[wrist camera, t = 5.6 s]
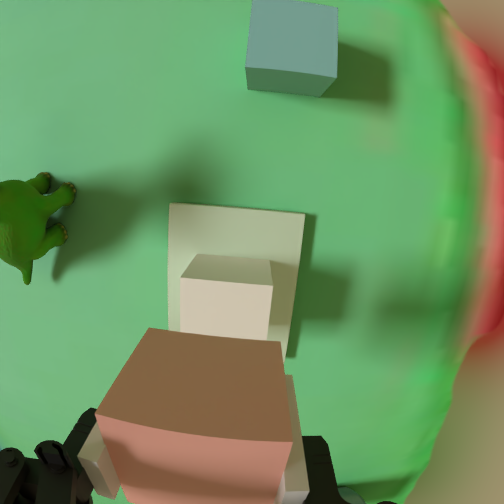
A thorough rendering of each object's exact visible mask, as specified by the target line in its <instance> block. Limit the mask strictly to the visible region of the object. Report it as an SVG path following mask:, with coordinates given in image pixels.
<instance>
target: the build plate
mask: <svg viewBox="0 0 504 504" xmlns="http://www.w3.org/2000/svg"><path fill="white" fill-rule="evenodd" d="M304 221H305V214H304V213H299V212H289V211H279V210H268V209H257V208H245V207H233V206H220V205H206V204H191V203H175V202H172V203H170V204H169V229H168V323H169V331H177V332H185V333H193V334H201V335H210V336H220V337H230V338H241V339H253V340H266V341H281V349H282V357H283V363H284V362H285V356H286V350H287V344H288V338H289V331H290V325H291V318H292V312H293V305H294V298H295V291H296V284H297V277H298V269H299V262H300V254H301V246H302V238H303V229H304Z"/></svg>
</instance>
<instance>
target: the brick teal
mask: <svg viewBox="0 0 504 504" xmlns="http://www.w3.org/2000/svg"><path fill="white" fill-rule="evenodd" d="M337 58H338V8H337V7H332V6H326V5H321V4H315V3H308V2H302V1H294V0H252V8H251V17H250V26H249V36H248V45H247V55H246V65H245V69H246V79H247V88H248V90H260V91H271V92H281V93H290V94H299V95H306V96H313V97H320V96H321V95H322V94H323V93H324V92H325V91H326V90H327V88H328V87H329V86H330V85H331V84H332V83H333V82H334V81H335V80H336V78H337Z"/></svg>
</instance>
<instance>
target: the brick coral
mask: <svg viewBox="0 0 504 504" xmlns="http://www.w3.org/2000/svg"><path fill="white" fill-rule="evenodd" d="M95 416H96V420H97V423H98V426H99V429H100V432H101V435H102V438H103V441H104V444H105V445H106V447H107V450H108V453H109V455H110V458H111V461H112V463H113V466H114V468H115V471H116V473H117V476H118V478H119V481H120V483H121V487H122V489H123V492H124V494H125V496H126V498H127V500H128V502H131V503H135V504H273V503H274V500H275V497H276V494H277V491H278V488H279V485H280V481H281V478H282V475H283V472H284V471H285V468H286V464H287V461H288V458H289V454H290V451H291V447H292V444H293V438H292V430H291V421H290V413H289V405H288V396H287V388H286V380H285V372H284V364H283V357H282V349H281V341H266V340H253V339H241V338H230V337H220V336H210V335H201V334H193V333H185V332H177V331H169V330H162V329H155V328H148V330H147V331H146V333H145V334H144V336H143V337H142V339H141V340H140V342H139V344H138V345H137V347H136V348H135V350H134V351H133V353H132V354H131V356H130V357H129V359H128V361H127V362H126V364H125V365H124V367H123V368H122V370H121V372H120V373H119V375H118V376H117V378H116V380H115V381H114V383H113V384H112V386H111V388H110V389H109V391H108V392H107V394H106V396H105V397H104V399H103V400H102V402H101V404H100V405H99V407H98V409H97V410H96V412H95Z"/></svg>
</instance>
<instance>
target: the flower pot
mask: <svg viewBox="0 0 504 504" xmlns="http://www.w3.org/2000/svg"><path fill="white" fill-rule="evenodd" d="M338 491H339V494H340V496H341V497H342V498H343V499H344V500H345V501H347V502H349V503H351V504H366V503H365V501H364V500H363V499H362V497H361V496H360V495H359V494H357V493H356V492H355V491H353V490H352V489H350V488H348V487H340V488H338Z"/></svg>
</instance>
